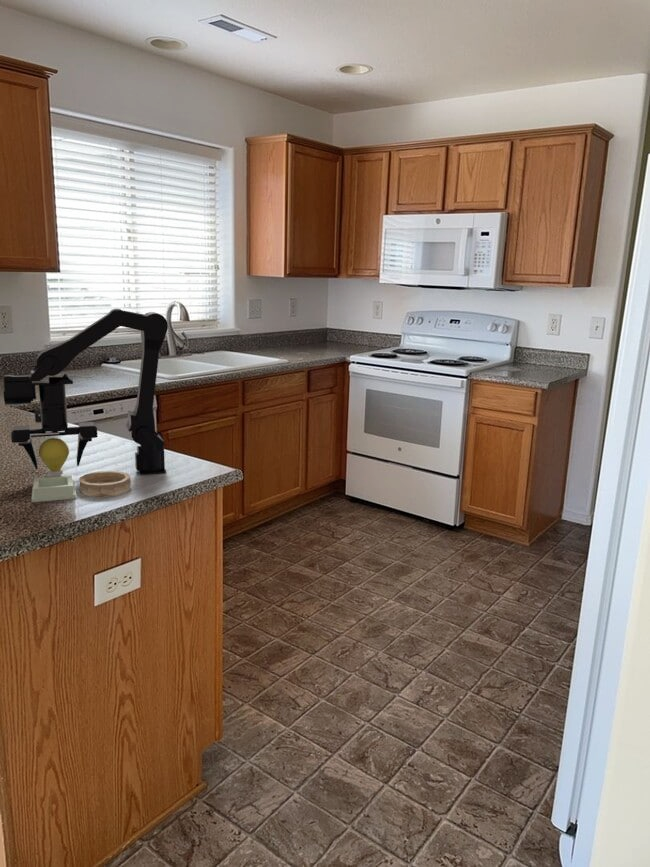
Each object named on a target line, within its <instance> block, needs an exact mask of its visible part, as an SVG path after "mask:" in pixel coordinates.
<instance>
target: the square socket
mask: <svg viewBox="0 0 650 867" xmlns="http://www.w3.org/2000/svg"><path fill="white" fill-rule="evenodd" d="M75 485H76V484H75V482H73V476H72V475H63V476H62V475H61V476H60V477H51V476H49V477H39V478H33V486H32V489H31V503H41V502H50V501H61V500H73V499H77V492H76V486H75Z"/></svg>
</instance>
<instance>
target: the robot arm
mask: <svg viewBox="0 0 650 867" xmlns="http://www.w3.org/2000/svg"><path fill="white" fill-rule="evenodd" d="M120 327H123V328H128V329H132V330H137V331H140V338H141V347H142V351H141V362H140V368H139V379H138V387H137V388H138V389H137V395H136V396H137V397H136V403H135V407H134V408H133V409H134V410H132V411H131V410H127V418H128V419H127V422H126V424H125V427H126V428H127V430H128V432H129V435H130V437H131V438H132V440H133V441H134V442H135V443H136V444H137V445H139V446H136V450H137V451H136V452H134V460H135V466H134V467H135V470H136V472H138V473H139V475H153V474H154V475H155V474H165V473H167V469H166V466H165V465H166V464H165V441H164V439H163V437H161V435H160V433H158V432H157V430H156V424H155V415H154V401H155V399H154V398H155V392H156V384H157V375H158V367H159V356H160V351H161V349H162V346H163V345H164V342H165V339H166V335H167V333H168V330H169V323H168V320H167V319H166V318H165V316H163V315H162V314H161V313H158V312H155V311H149V312H146V313H145V314H144V313H138V312H134V311H128V310H124V309H123V310H122V309H120V308H113V309H111V310H110V311H109V312H108V313H106V314H105V315H104V316H102V317H101V318H99V319H98V320H96V321H94V322H93V323H91V324H90V325H89V326H87V327H85V328H84V329H82V330H81V331H79V332H78V333H76V334H75V335H73V336H71V338H69V339H67V340H65V341H61V342H59V343H55V344H53V345H51V346H49V347H46V348H44V349H42V350H41V351H40V352H39V353H38V355H37V359H36V365H35V367H34V368H33V369H32V370H30V374H29V375H28V374H27V375H26V374H25V375H13V374H4V376H3V391H2V392H3V402H4V405H5V406H13V405H14V406H15V405H17V406H18V405H32V402H34V400H35V401H36V400H37V388H36V386H38V393H39V394H38V397H39V409H38V408H37V409H34V421H35V422H34V423H36V424H41V428H31V425H29V424H28V425H15V426H13V427H12V428H11V431H10V436H11V437H10V438H11V443H13V444H15V443H16V444H17V445H18V447H19V446H20V447H23V448H24V449H25V451H26V452H27V454H28V456H29V457H30V459H31V462H32V464H33V465H34V468H35V470H38V468H39V467H38V459H37V455H36V449H35V445H34V440H33V438H41V437H42V438H43V437H58V436H75V435H77V446H76V447H77V450H76V466H78V467H79V466H80V464H81V459H82V458H83V457H82V456H83V453H84V450H85V449H86V446H87V444H88V442H89V443H90V442H92V441H93V439H95V438H98V427H97V424H96V423H95V422H94V421H89V422H88V421H87V422H85V421H84V422H78V426H68V424H69V423H68V412H67V398H66V397H67V395H66V394H67V393H66V385H73V384H74V380H73V378H71V377H70V376H69V375H68V374H67V372H64V373H63V374H62V375H61V376H56V375H59V374H60V373H61V372H62V371H64V369H65V368H67V366H69V364H70V363H71V362H72V361H74V359H75V358H76V357H77V356H78V355H80V354H81V353H82V352H84V351H85V350H87V349H88V348H89V347H91V346H92V345H94V344H96V343H97V342H98V341H100V340H101V339H103V338H104V337H106V336H108V335H109V334H110V333H113V332H114V331H116V330H117V329H118V328H120ZM47 377H48V380H47V379H46V380H43V379H45V378H47Z"/></svg>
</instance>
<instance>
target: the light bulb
mask: <svg viewBox="0 0 650 867" xmlns="http://www.w3.org/2000/svg"><path fill="white" fill-rule="evenodd" d="M68 446H69V445H68V444H67V443H66V441H64V440H63V439H60V438H58V437H51V438H48V439H46V440H44V441H43V442H42V443H41V444H40V446H39V448H38V455H39V457H40V459H41V461H42V463H43V464H44V465H45V467H47V468H48V470H47V471H48V472H47V473H48V474H47V475H48V476H49V477H60V476H62V475H63V469H62V468H63V466H64V465H65V463H66V461H67V459H68V457H69V455H70V451H69V450H70V449H69V447H68Z"/></svg>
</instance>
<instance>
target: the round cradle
mask: <svg viewBox="0 0 650 867" xmlns="http://www.w3.org/2000/svg"><path fill="white" fill-rule="evenodd" d="M78 479H79V480H78V482H79V493H80V494H81V495H83V496H86V497H89V498H107V497H109V498H110V497H115V496H119V495H123V494H126V493H128V492H129V491H130V490H131V484H132V482H131V475H130V474H129V473H128V472H124V471H119V470H103V471H95V472H90V473H86V474H84V475H82V476H80V477H78ZM125 492H126V493H125Z"/></svg>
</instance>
